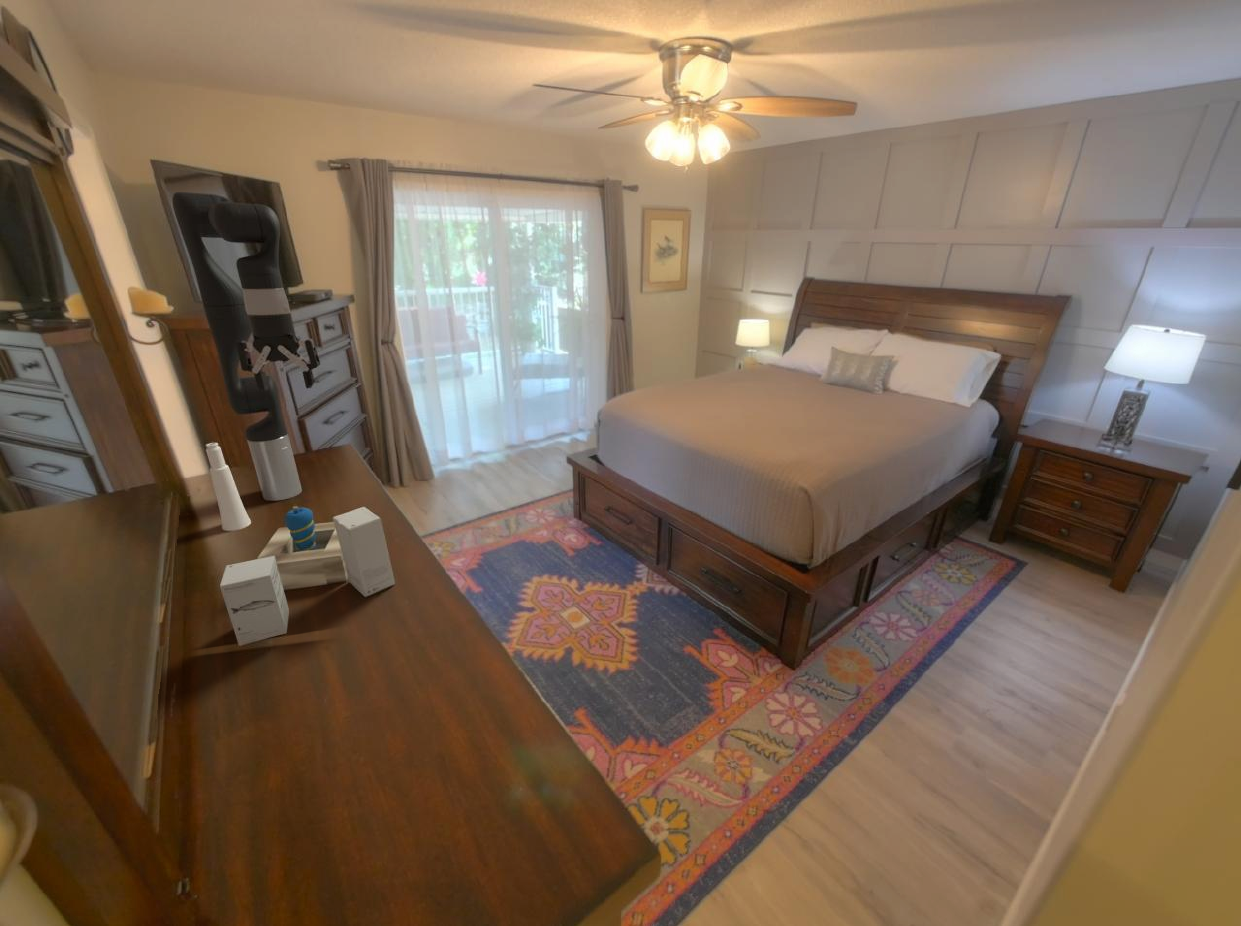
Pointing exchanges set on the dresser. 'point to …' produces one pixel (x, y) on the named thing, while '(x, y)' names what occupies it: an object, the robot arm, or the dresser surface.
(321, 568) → the socket block
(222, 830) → the dresser surface
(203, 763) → the dresser surface
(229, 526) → the cosmetic bottle
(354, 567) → the skincare box
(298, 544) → the ornament
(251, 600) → the supplement box
